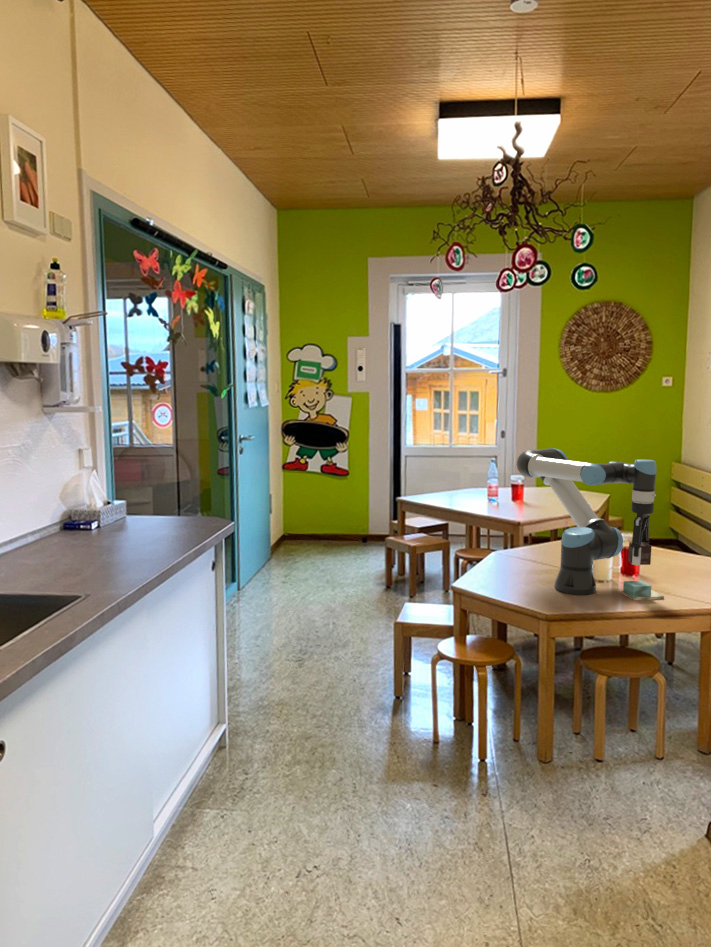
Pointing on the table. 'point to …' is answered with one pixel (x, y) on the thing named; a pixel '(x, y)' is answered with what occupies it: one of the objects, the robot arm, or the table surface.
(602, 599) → the table surface
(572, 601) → the table surface
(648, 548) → the box
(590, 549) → the robot arm
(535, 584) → the table surface
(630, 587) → the teal and cream block
